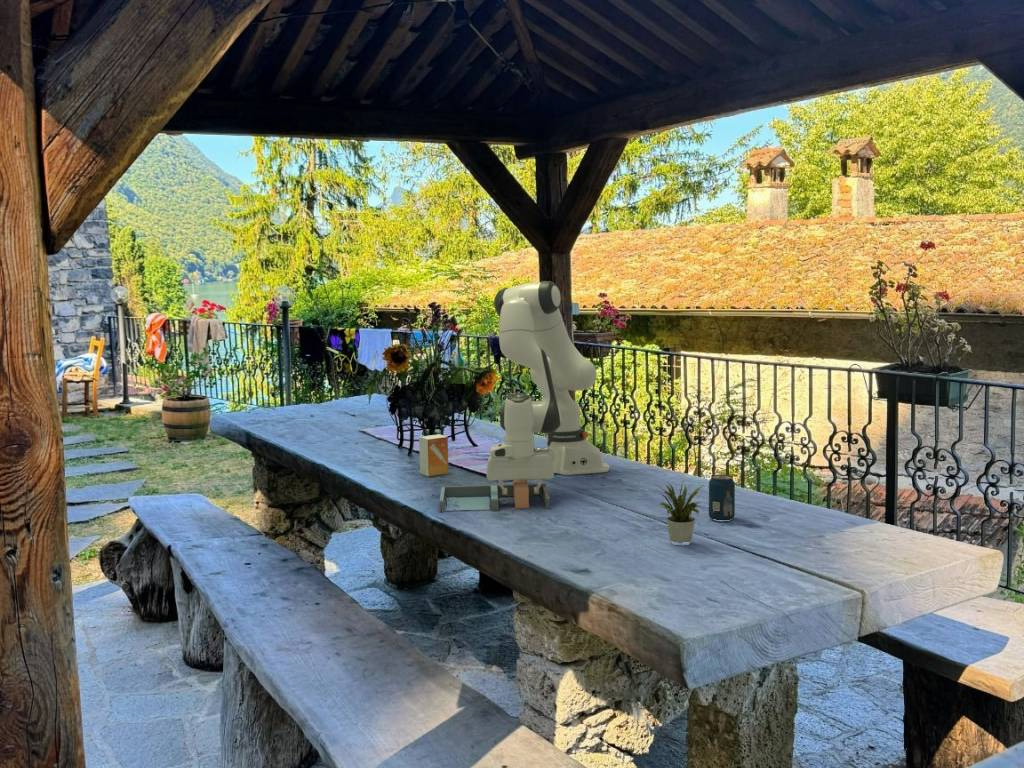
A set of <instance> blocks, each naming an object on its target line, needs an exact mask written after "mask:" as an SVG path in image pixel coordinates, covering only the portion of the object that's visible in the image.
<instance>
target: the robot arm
mask: <svg viewBox="0 0 1024 768" xmlns="http://www.w3.org/2000/svg"><path fill="white" fill-rule="evenodd" d="M493 302H494V303H493V305H494V309H495V313H496V314H497V315H498V317H499V323H498V324H499V325H498V340H499V341H498V343H499V348H500V349H499V350H500V351H501V354H502V355H503V356H504V357H505V358H506V359H507V360H510V361H511V362H512V363H515V364H518V365H520V366H523V367H526V368H529V369H530V371H529V372H530V377H531V381H532V382H533V383H534V384H535V385H536V387H538V389H539V391H540V392H541V395H542V399H541V400H532V396H530V395H528V394H527V393H524V392H523V393H522V392H517V393H511V394H509V395H507V396H506V397H505V402H504V405H502V407H501V408H500V409H499V413H500V426H499V427H500V428H501V429H502V430H504V431H505V436H504V442H501V443H499V444H495V445H493V446H491V448H490V450H489V454H490V456H488V458H487V465H486V479H487V480H488V481H490V482H493V481H494V482H495V481H498V485H500V487H501V489H502V495H507V488H504V486H503V485H504V481H513V480H527V481H528V480H531V481H532V480H537V484H538V485H537V487H534V494H539V488H540V486H541V484H542V483H543V480H551V479H552V480H553V478H554V476H555V474H560V475H564V476H572V475H573V476H574V475H575V476H576V475H585V474H586V475H588V474H598V473H600V474H601V473H607V472H609V471H610V465H609V464H608V463H607V462H605V461H604V459H603V454H602V453H601V450H600V449H599V448H598V447H596V445H594V444H593V443H591V442H590V441H588V440H587V438H588V437H589V433H588V432H587V431H586V430H584V429H582V428H581V427H580V426H581V417H580V415H581V414H580V410H581V409H580V406H579V404H578V403H577V402H576V401H575V400H574V399H573V398H572V397H571V395H570V392H569V391H575V392H577V391H584V390H590V389H591V388H592V387H593V385H595V382H596V380H597V375H598V373H597V368H596V366H595V365H594V363H593V362H592V361H590V360H588V359H586V357H585V356H583V355H582V353H580V351H579V350H578V349H577V348H576V346H575V344H574V343H573V342H572V340H571V338H570V336H569V333H568V330H567V328H566V325H565V322H564V320H563V318H564V317H563V316H562V313H561V311H560V306H561V304H562V296H561V291H560V289H559V286H558V285H557V284H556V283H554V282H553V281H550V280H548V281H547V280H543V281H535V282H534V281H532V282H526V283H523V284H517V285H515V286H510V287H504V288H502V289H500V290H498V291H497V293H496V294H495V296H494V301H493ZM534 433H541V434H545V435H546V444H547V447H545V448H543V447H535V436H534Z"/></svg>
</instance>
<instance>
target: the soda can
mask: <svg viewBox="0 0 1024 768" xmlns="http://www.w3.org/2000/svg"><path fill="white" fill-rule="evenodd" d="M735 485H736V483H735V480H734V479H733V476H732V475H731V474H730V475H729V474H720V473H719V474H713V475H711V476H710V479H709V482H708V516H709V518H710V519H711V518H712V519H716V520H730V519H732V518H733V519H734V518H735V515H736V513H735V512H736V511H735V509H736V508H735V507H736V506H735V503H736V502H735V500H736V499H735V498H736V497H735V496H736V493H735V492H736V488H735V487H736V486H735ZM733 519H732V520H733Z"/></svg>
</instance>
